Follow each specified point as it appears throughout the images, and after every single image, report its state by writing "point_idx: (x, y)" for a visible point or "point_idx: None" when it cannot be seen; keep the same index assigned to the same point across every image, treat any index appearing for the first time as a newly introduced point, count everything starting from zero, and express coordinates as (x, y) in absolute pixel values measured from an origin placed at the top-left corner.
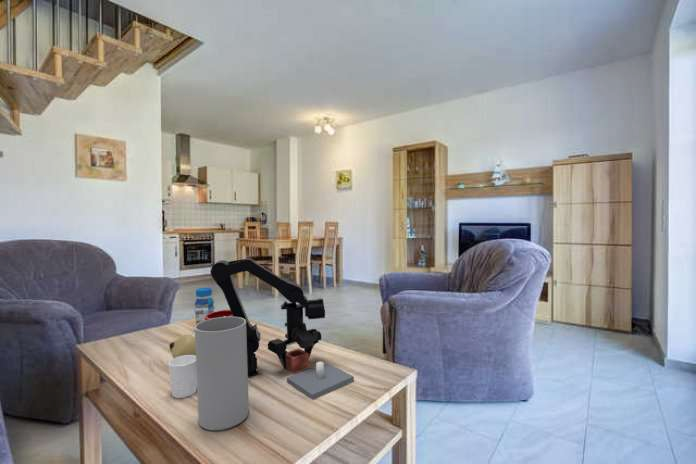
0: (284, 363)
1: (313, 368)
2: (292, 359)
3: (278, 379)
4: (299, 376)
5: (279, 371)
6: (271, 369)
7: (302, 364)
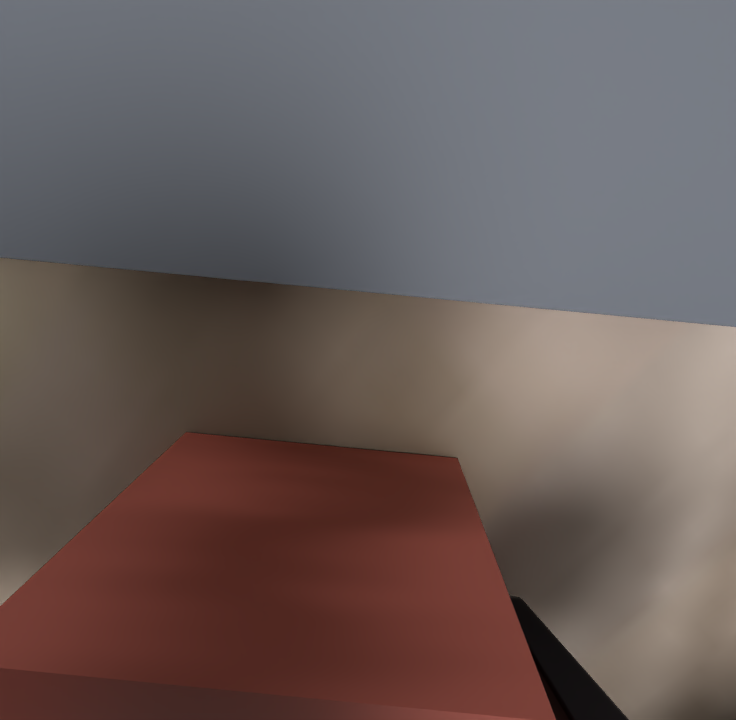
0: (597, 698)
1: (197, 242)
2: (538, 708)
3: (702, 474)
4: (633, 175)
5: None
6: None
7: (278, 496)
